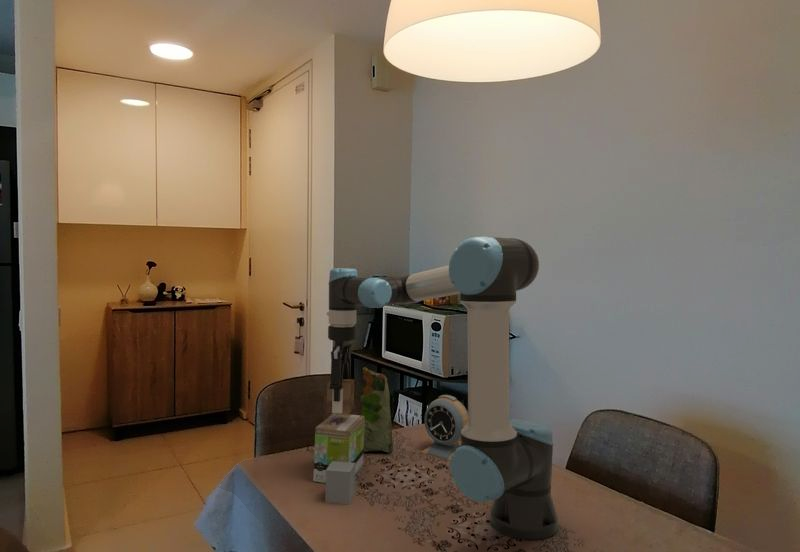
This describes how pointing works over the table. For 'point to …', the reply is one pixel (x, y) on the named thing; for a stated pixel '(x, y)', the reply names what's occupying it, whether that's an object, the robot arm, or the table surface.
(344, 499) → the grey block
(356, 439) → the tea box
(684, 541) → the table surface
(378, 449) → the pouch
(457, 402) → the alarm clock
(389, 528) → the table surface
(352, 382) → the walnut block
